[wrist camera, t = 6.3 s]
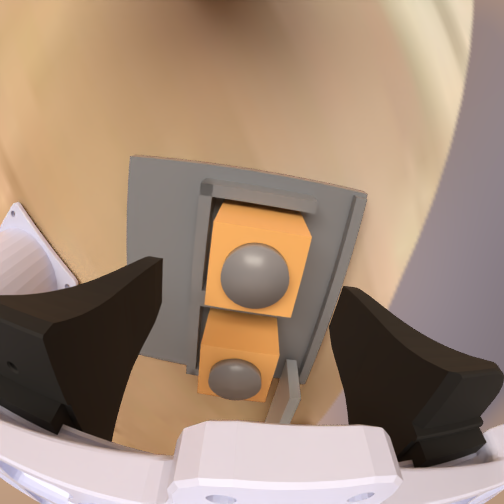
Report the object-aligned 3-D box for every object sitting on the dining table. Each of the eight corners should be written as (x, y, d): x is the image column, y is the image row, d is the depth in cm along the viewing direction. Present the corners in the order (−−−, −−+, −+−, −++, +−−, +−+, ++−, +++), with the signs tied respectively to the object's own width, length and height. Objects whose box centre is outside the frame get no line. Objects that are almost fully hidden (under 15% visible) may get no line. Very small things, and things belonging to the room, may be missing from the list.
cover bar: (282, 448, 25) (283, 477, 21) (251, 446, 24) (250, 475, 21) (323, 362, 20) (331, 399, 16) (281, 358, 19) (284, 397, 16)
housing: (304, 373, 21) (307, 395, 19) (136, 346, 21) (126, 366, 19) (362, 191, 16) (377, 200, 14) (135, 154, 15) (118, 159, 13)
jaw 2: (264, 358, 20) (264, 409, 16) (206, 349, 20) (195, 400, 15) (276, 311, 18) (280, 363, 14) (211, 301, 18) (198, 351, 14)
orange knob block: (285, 277, 17) (291, 325, 13) (215, 266, 17) (202, 312, 13) (299, 210, 16) (314, 242, 12) (225, 198, 16) (211, 226, 11)
